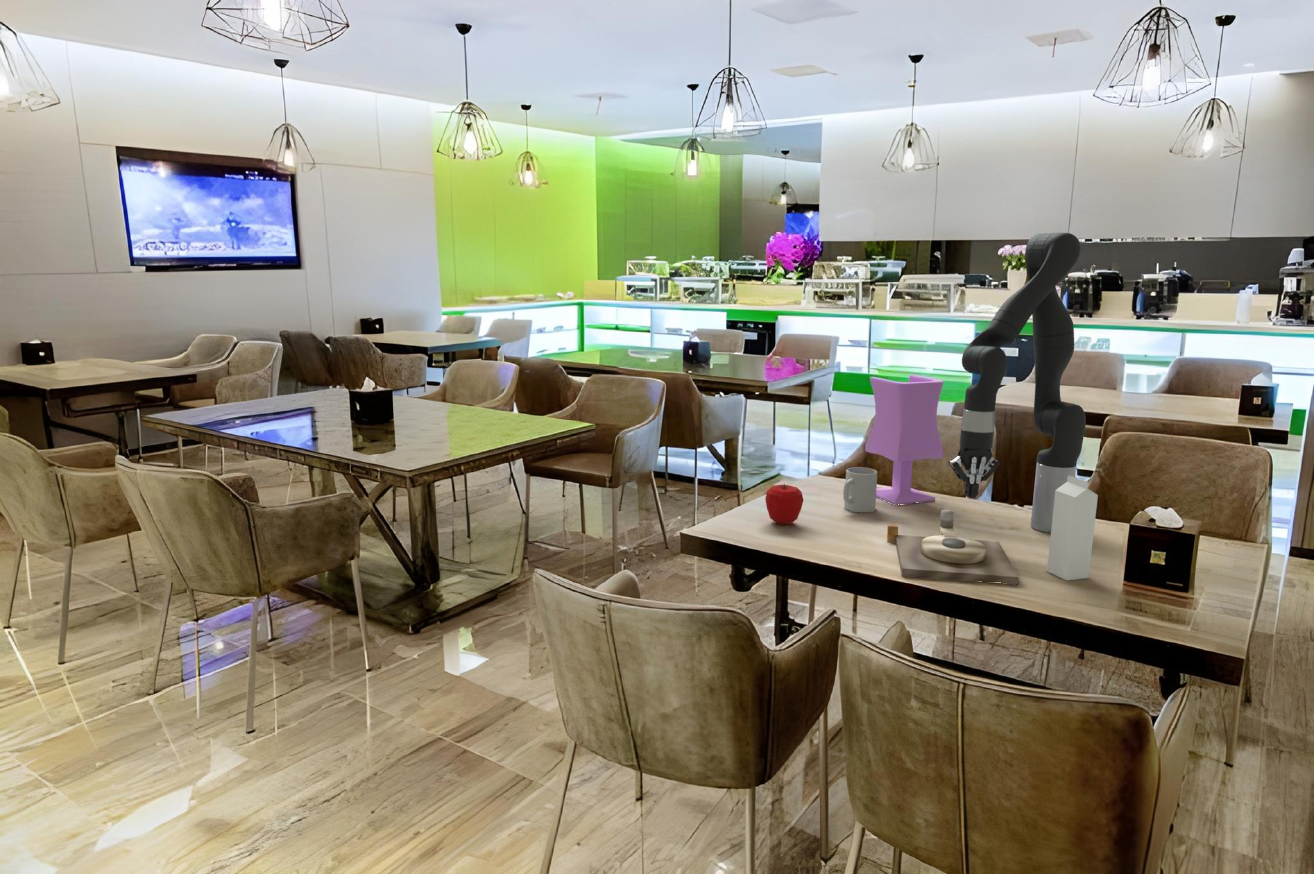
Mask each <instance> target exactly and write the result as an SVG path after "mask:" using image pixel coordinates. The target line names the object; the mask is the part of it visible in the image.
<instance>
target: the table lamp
mask: <svg viewBox="0 0 1314 874" xmlns="http://www.w3.org/2000/svg"><path fill="white" fill-rule="evenodd" d="M869 381H870V385H871V387H872V391H873V392H872V393H873V397H874V407H875V408H874V410H875V411H874V412H875V415H874V420H873V425H872V428H871V431H870V433H869V436H868V438H867V439H866V442H865V444H864V445H865V448H864V451H865V452H867V453H870V454H873V455H879V456H882V457H884V458H887V459H888V460H890V461H892V462H893V466H892V482H891V483H892V484H891V487H882V488H881V487H880V488H876V497H878V498H877V499H879V498H881V499H882V500H881V499H880V500H881V501H883V500H885V501H887V502H886V503H888V502H890V503H892V504H895V505H898V504H899V505H898V506H901V505H900V504H907V505H911V504H910V503H916V502H925V503H932V502H931V501H933V502H936V497H935V496H932V495H931V494H928V493H925V492H923V491H920V490H918V489H916V488H912V478H913V477H912V476H913V463H914V462H913V461H918V460H925V459H926V460H927V459H928V460H939V459H940V460H941V459H944V455H945V454H944V448H943V445H942V441H941V437H940V434H939V430H938V423H937V421H938V419H937V415H938V406H939V401H940V397H941V393H942V390H943V386H944V380H943V379H938V378H932V377H926V376H923V375H918V374H909V376H908V382H903V381H895V380H890V379H886V378H881V377H875V376H869ZM885 501H884V502H885ZM929 501H930V502H929ZM890 503H889V504H890ZM892 504H891V505H892ZM916 504H917V503H916ZM895 505H894V506H895Z"/></svg>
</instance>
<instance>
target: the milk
mask: <svg viewBox="0 0 1314 874" xmlns="http://www.w3.org/2000/svg"><path fill="white" fill-rule="evenodd" d="M1098 497H1099V495H1098V494H1097V493H1096V492H1094V491H1092V490H1091V489H1089V481H1087V480H1084V479H1081V478H1078V477H1076V476H1075V477H1072V476H1068V477H1067V482H1066V483H1065V484H1063V485H1062V486H1061V487H1059V488H1058V489H1056V490H1055V499H1054V509H1053V519H1052V528H1051V533H1050V540H1049V550H1048V558H1047V559H1048V560H1047V569H1046V571H1047V572H1048V573H1050V574H1052V575H1054V576H1056V577H1058V578H1060V579H1062V580H1064V581H1075V580H1083V579H1089V577H1090V568H1091V558H1092V549H1093V542H1094V534H1095V533H1094V532H1095V526H1096V525H1095V524H1096V517H1097V516H1096V514H1097V506H1098Z"/></svg>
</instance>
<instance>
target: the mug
mask: <svg viewBox="0 0 1314 874" xmlns="http://www.w3.org/2000/svg"><path fill="white" fill-rule="evenodd" d="M877 483H878V471H877V470H876V469H875V468H874V469H873V468H870V467H864V466H863V467H861V466H856V467H855V466H854V467H849V468H847V469H846V470H845V483H844V485H843V493H842V495H843V501H844V503H843V505H844V507H845V508H844V510H846V509H847V510H846V511H848V510H849V512H851V511H854V512H853V513H857V512H869V513H873V512H875V511H876V505H877V503H876V502H877V498H876V489H877ZM872 511H873V512H872Z"/></svg>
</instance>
